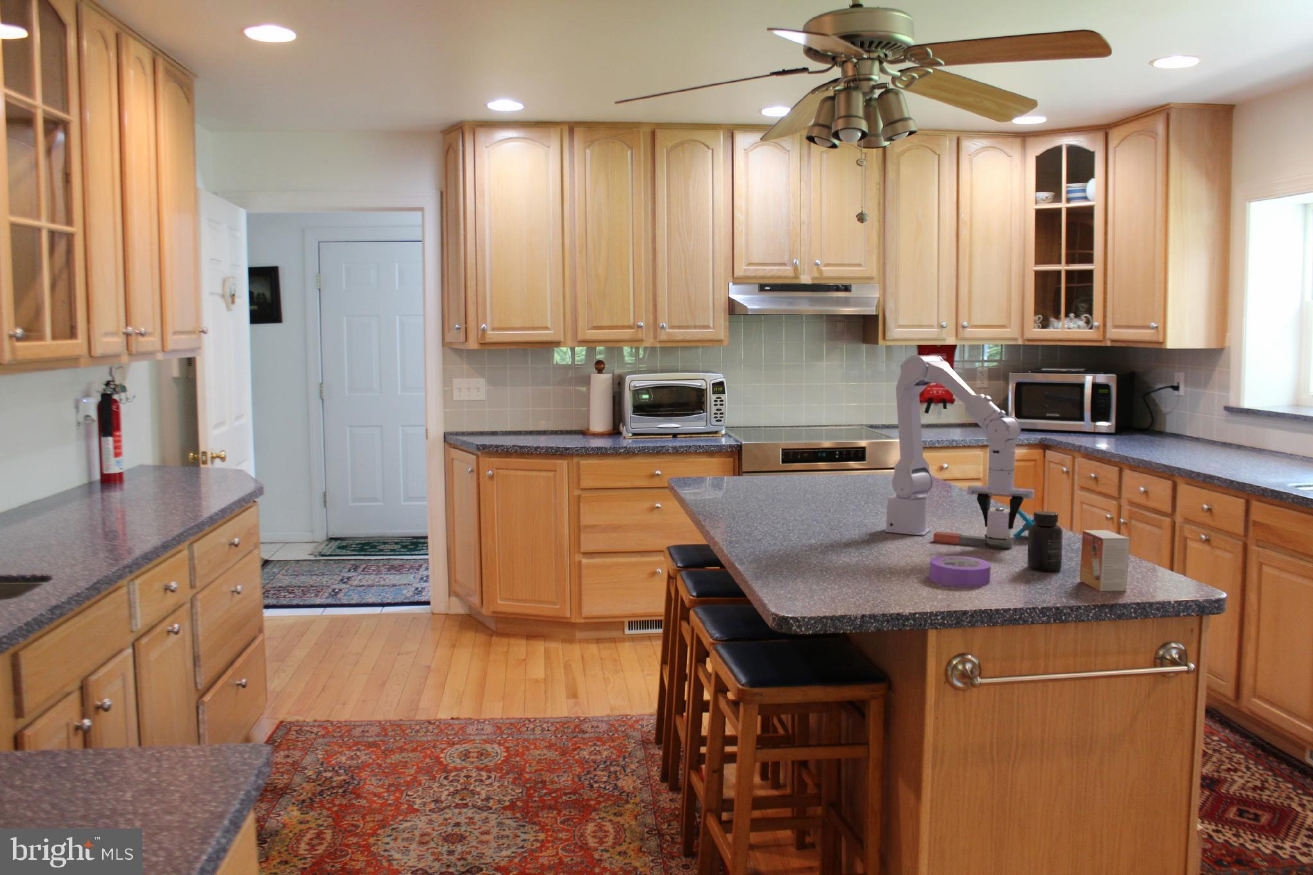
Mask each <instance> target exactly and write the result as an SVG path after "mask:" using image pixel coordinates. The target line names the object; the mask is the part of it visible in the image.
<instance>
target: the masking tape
mask: <svg viewBox="0 0 1313 875" xmlns="http://www.w3.org/2000/svg"><path fill="white" fill-rule="evenodd" d="M929 564H930V565H929V579H930V580H931V581H932V580H933V582H934V581H935V582H934V583H937V584H940V583H941V585H944V586H950V585H952V586H951V587H959V586H964V587H963V588H974V587H975V586H978V587H984V586H987V585H989V584H990V583H991V569H992V568H991V567H992V565H991V563H990V562H988V561H986V560H984V559H980V558H976V557H971V556H965V555H964V556H963V555H942V556H935V557H932V558H931V559H930V562H929ZM965 586H966V587H965ZM975 588H976V587H975Z"/></svg>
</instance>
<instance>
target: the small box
mask: <svg viewBox="0 0 1313 875" xmlns="http://www.w3.org/2000/svg"><path fill="white" fill-rule="evenodd" d="M1130 542H1131V538H1130V537H1127V536H1123V535H1121V534H1118V533H1116V532H1113V531H1111V530H1109V529H1101V530H1100V529H1099V530H1098V529H1096V530H1095V529H1093V530H1091V529H1087V530H1086V529H1085V530H1084V529H1083V530H1082V537H1081V550H1080V551H1081V554H1080V567H1079V568H1080V569H1079V570H1080V571H1079V581H1080V582H1081V583H1084V584H1086V585H1088V586H1090V587H1092V588H1094V589H1095V590H1097V591H1099V592H1125V591H1127V587H1128V576H1129V575H1128V574H1129V560H1130V557H1129V556H1130V544H1131V543H1130Z"/></svg>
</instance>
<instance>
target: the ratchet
mask: <svg viewBox="0 0 1313 875" xmlns="http://www.w3.org/2000/svg"><path fill="white" fill-rule="evenodd" d="M932 539H933V541H932V542H933V543H939V544H950V545H959V546H960V545H961V546H962V545H963V546H972V547H983V548H986V549H990V550H1000V551H1001V550H1002V551H1003V550H1004V551H1007V550H1011V549H1013V537H1011V536H1009V537H1008V539H1005V538H995V537H987V533H985V534H984V536H979V535H968V534H963V533H960V532H949V531H948V532H945V531H935V532H934V533H933V538H932Z"/></svg>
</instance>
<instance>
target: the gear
mask: <svg viewBox="0 0 1313 875" xmlns="http://www.w3.org/2000/svg"><path fill="white" fill-rule="evenodd" d="M1017 515H1018V516H1019V517H1020V518H1021V519H1022V520H1023V521H1024V522H1025V523H1023V524H1022V527H1021V528H1020V529H1019V530H1018V531H1016V532H1015V533H1014V534H1013V535H1012V536H1013V537H1014V538H1015V539H1018V538H1019V537H1020V536H1021V535H1022V534H1024V532H1028V529H1029V527H1030V526H1031V525H1032V524H1034V522H1035V521H1033V519H1031V518H1029V517H1028V516H1027V515H1026V514H1025V513H1024V512H1023V511H1022V510H1021V509H1020V508H1019V510H1018V512H1017Z"/></svg>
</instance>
